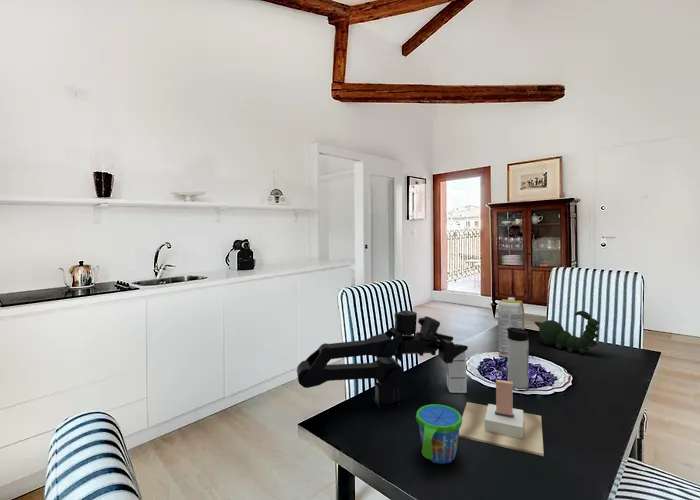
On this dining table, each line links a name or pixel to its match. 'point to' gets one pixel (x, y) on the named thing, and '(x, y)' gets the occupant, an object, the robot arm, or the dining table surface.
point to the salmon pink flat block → (504, 397)
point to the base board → (476, 431)
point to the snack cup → (439, 432)
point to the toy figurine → (556, 333)
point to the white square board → (504, 422)
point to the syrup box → (457, 374)
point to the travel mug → (518, 357)
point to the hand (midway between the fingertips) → (459, 342)
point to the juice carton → (508, 321)
